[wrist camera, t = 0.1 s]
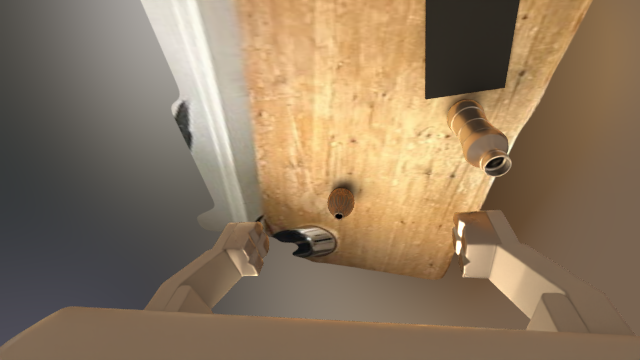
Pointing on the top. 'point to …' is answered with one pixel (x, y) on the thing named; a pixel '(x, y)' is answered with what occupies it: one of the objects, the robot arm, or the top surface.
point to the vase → (340, 203)
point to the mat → (468, 45)
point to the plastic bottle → (479, 138)
